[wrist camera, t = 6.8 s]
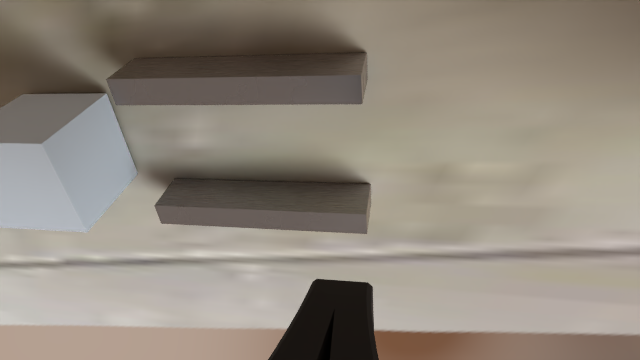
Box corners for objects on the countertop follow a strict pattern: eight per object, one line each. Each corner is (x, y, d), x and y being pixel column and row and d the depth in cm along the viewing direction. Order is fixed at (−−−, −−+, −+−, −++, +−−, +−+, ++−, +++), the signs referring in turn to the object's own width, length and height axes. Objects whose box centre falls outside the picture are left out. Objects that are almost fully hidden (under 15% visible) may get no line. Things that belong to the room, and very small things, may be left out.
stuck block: (106, 93, 18) (41, 143, 15) (137, 173, 21) (87, 232, 18) (22, 94, 19) (-56, 142, 16) (62, 171, 21) (0, 227, 18)
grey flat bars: (366, 52, 16) (361, 75, 14) (370, 202, 20) (366, 233, 18) (134, 58, 17) (106, 79, 16) (180, 195, 21) (161, 223, 20)
